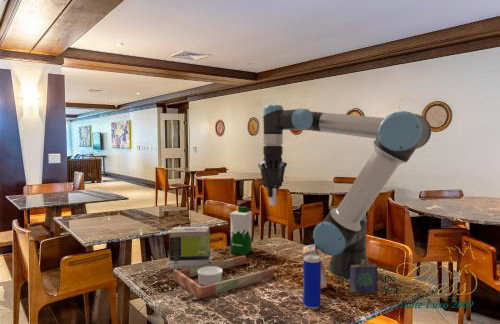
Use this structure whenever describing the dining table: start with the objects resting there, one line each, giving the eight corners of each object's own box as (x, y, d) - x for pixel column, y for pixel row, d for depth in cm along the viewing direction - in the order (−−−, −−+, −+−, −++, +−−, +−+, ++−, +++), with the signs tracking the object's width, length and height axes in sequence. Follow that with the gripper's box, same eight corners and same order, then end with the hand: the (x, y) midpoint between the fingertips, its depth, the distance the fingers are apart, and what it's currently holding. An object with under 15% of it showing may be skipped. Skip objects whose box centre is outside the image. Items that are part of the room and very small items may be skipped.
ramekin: (199, 277, 131) (198, 266, 131) (223, 277, 132) (223, 265, 131) (196, 287, 123) (195, 275, 122) (222, 287, 123) (222, 274, 123)
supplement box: (328, 287, 119) (315, 249, 119) (313, 291, 120) (301, 253, 120) (327, 278, 127) (315, 242, 127) (314, 281, 128) (302, 246, 128)
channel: (274, 276, 132) (274, 267, 132) (198, 298, 114) (198, 287, 114) (244, 262, 148) (244, 253, 147) (173, 279, 129) (173, 269, 129)
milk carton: (253, 250, 164) (253, 206, 163) (245, 256, 156) (245, 210, 155) (236, 248, 168) (236, 205, 167) (227, 253, 159) (227, 208, 158)
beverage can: (307, 300, 113) (308, 252, 112) (323, 304, 110) (323, 255, 109) (300, 306, 108) (300, 257, 108) (316, 311, 105) (316, 260, 105)
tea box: (210, 260, 150) (210, 225, 149) (208, 269, 140) (208, 231, 139) (173, 261, 150) (173, 225, 149) (169, 269, 140) (168, 231, 139)
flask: (351, 294, 117) (351, 261, 117) (347, 290, 120) (348, 258, 120) (378, 293, 118) (379, 260, 118) (374, 289, 121) (375, 258, 121)
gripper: (279, 145, 148) (278, 202, 150) (253, 145, 141) (253, 205, 142) (291, 145, 142) (291, 204, 144) (266, 145, 135) (265, 208, 136)
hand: (272, 204), depth 143 cm, fingers closed
